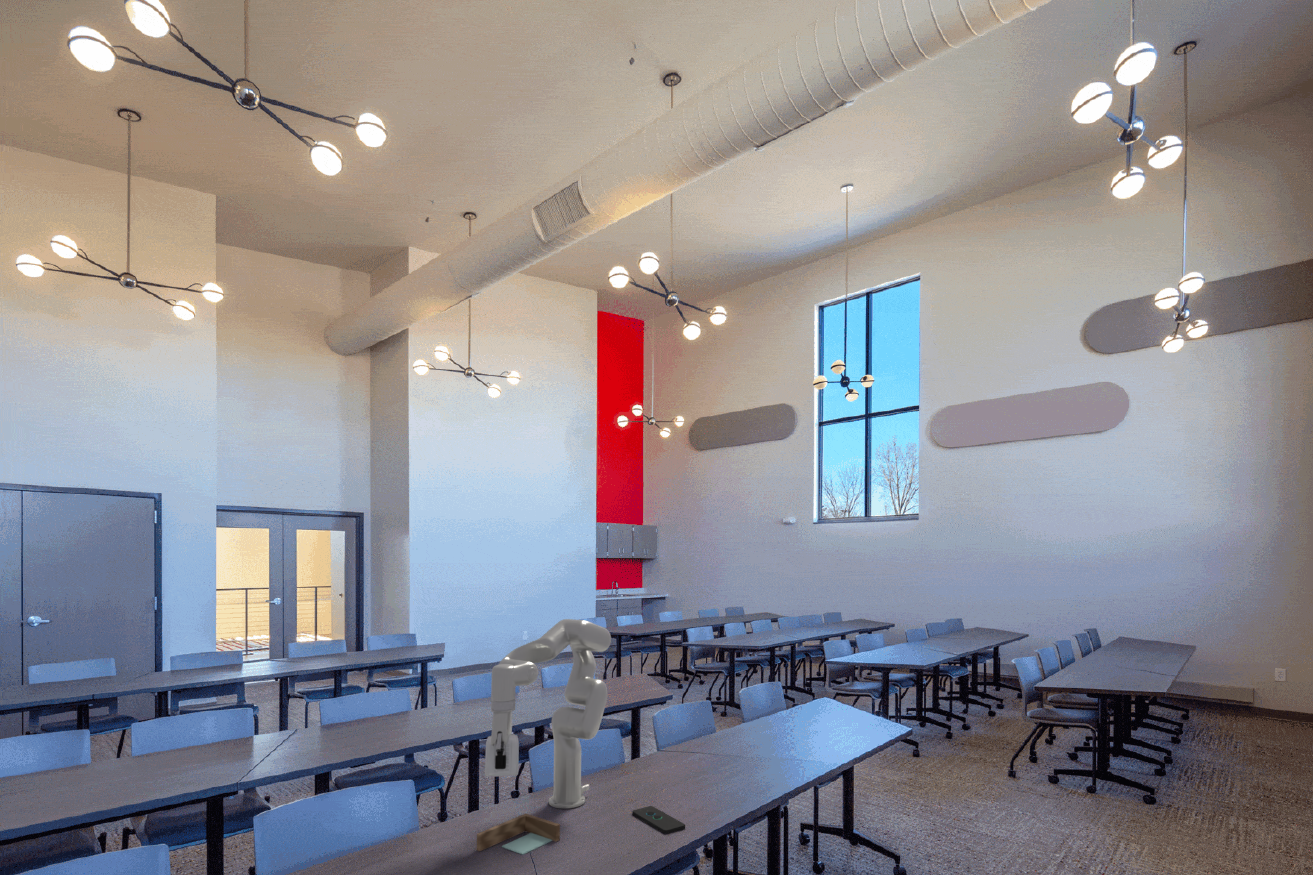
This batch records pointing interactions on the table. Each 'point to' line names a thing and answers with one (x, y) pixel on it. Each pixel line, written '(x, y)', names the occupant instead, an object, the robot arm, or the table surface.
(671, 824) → the smart home device
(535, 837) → the pad
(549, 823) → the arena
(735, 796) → the table surface
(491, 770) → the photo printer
